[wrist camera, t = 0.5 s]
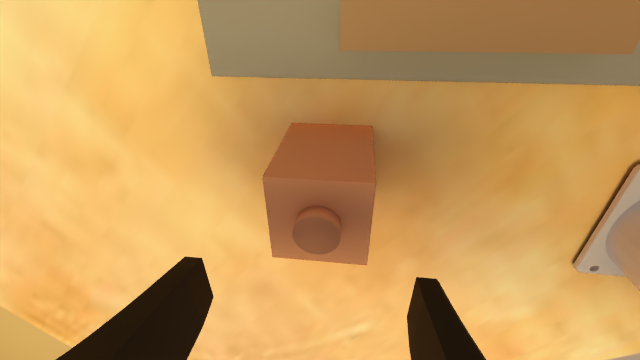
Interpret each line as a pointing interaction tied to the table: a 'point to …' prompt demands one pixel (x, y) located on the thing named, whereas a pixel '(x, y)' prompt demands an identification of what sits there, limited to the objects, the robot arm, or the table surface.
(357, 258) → the snap block
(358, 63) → the build base
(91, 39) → the table surface
